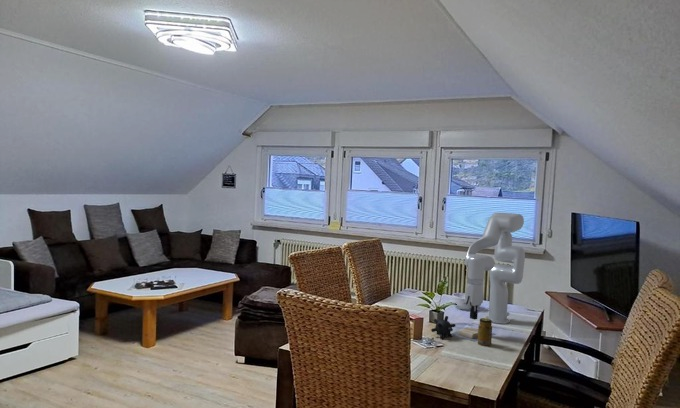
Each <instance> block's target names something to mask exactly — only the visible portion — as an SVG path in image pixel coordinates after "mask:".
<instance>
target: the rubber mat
mask: <svg viewBox="0 0 680 408" xmlns="http://www.w3.org/2000/svg"><path fill="white" fill-rule="evenodd" d="M470 327H471V326H470ZM471 328H473V327H471ZM474 328H475V329H477V328H476V327H474ZM450 333H451V334H452V336H453V337H458V338H461V339H463V340H468V341H470V342H474V343H475V342H478V337H475V338H468V337H465V336H462V335H458V330H457V331H454V332H450ZM496 334H497V333H493V332H492V337H493V336H496Z"/></svg>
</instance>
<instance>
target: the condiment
mask: <svg viewBox="0 0 680 408" xmlns="http://www.w3.org/2000/svg"><path fill="white" fill-rule="evenodd" d="M477 329H478V341H477V345H479V346H482V347H491V345H492V340H493V339H492V338H493V336H492V333H493V323H492V321H491V320H490V319H487V318H486V317H485V318H484V317H482V318H480V319H479V324H478V327H477Z"/></svg>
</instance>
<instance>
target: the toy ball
mask: <svg viewBox="0 0 680 408" xmlns="http://www.w3.org/2000/svg"><path fill="white" fill-rule="evenodd" d="M448 320H449V316H447V315H445V316H444V319H439V320H437V319H436V318H434V319H433V322H434V323H435V325H434V328H433V327H432V328H431V332H432V333H436V335H439V339H440V340H443V339H444V337H446V336H447V337H449V338H451V337H453V335H452V334H451V333H452V332H453V331H454V328H456V325H457V324H456V323H450V322H449V321H448Z"/></svg>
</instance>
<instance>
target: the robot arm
mask: <svg viewBox="0 0 680 408" xmlns="http://www.w3.org/2000/svg"><path fill="white" fill-rule="evenodd" d="M524 223H525V219H524V216H523V215H522V214H520V213H508V212H494V213H492V214H491V216H489V218H488V220H487V222H486V225H485V228H484V230H483V233H482V236H481V237H479V238H478V239H476V240H475V241H474V242H473V243H471V245H470V246H469V247H468V249H467V252H466V255H465V258H464V263H465V266H466V268H467V284H466V287H465V292H464V293H465V304H468V305H467V308H470V310H469V319H472V320H478V315H479V314H478V311H479V308H480V306H482V304H483V302H484V280H485V279H484V277H485V276H484V275H485V272H488V274H489V275H488V276H489V281H490V282H489V285H490V287H489V301H488V315H487V316H485V318H487V319H490V320H491V321H492V324H499V325H505V324H506V325H507V324H510V321H511V320H510V319H509V318H508V316H510V312H508V303H509V302H508V301H509V288H508V286H507V284H513V285H514V284H515V285H519V284H521V283H522V281H523V278H524V270H525V269H524V268H525V260H526V259H525V258H526V252H525V249H524V248H523V247H522V246H520V245H519V246H517V245H513V235H512V233H515V232H517V231H519V230H521V229H522V228H523V226H524V225H525V224H524ZM491 247H494V252H493V253H494V256H493V257H494V258H493V257H492V256H490V255H486V254H478V252H480V251H483V250H485V249H488V248H491ZM495 260H496V261H497V262H502V263H508V264H502V263H495ZM509 264H510V265H509ZM511 264H513V265H511ZM506 283H507V284H506Z"/></svg>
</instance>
